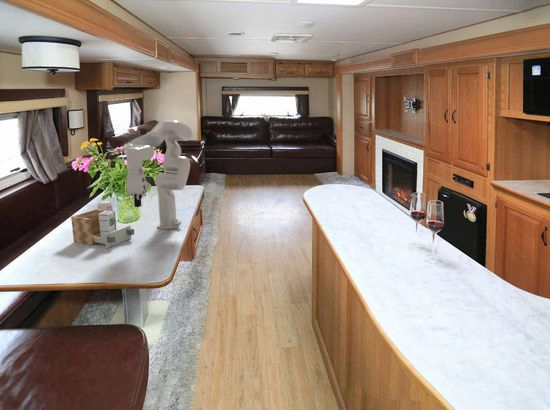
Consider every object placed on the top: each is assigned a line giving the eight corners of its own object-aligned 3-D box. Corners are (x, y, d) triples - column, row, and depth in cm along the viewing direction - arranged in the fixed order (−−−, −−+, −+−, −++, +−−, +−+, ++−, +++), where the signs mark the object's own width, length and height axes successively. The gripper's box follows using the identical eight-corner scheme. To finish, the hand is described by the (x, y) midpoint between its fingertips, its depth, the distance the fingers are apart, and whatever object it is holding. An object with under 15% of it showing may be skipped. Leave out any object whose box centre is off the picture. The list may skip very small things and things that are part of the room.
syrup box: (111, 240, 262) (108, 213, 258) (100, 240, 263) (98, 213, 260) (116, 237, 267) (114, 211, 264) (106, 236, 269) (104, 210, 265)
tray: (135, 238, 271) (134, 226, 270) (111, 248, 256) (110, 235, 254) (113, 235, 278) (112, 223, 277) (88, 244, 263) (87, 231, 261)
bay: (117, 236, 277) (114, 211, 274) (92, 245, 262) (89, 219, 258) (99, 233, 283) (97, 209, 280) (73, 242, 267) (71, 216, 264)
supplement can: (103, 225, 299) (100, 200, 295) (116, 225, 298) (114, 200, 295) (97, 229, 291) (94, 203, 288) (111, 229, 290) (108, 203, 287)
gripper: (151, 171, 258) (154, 206, 263) (129, 169, 265) (131, 203, 269) (141, 173, 252) (144, 209, 256) (118, 171, 259) (121, 206, 263)
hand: (138, 206), depth 263 cm, fingers closed
